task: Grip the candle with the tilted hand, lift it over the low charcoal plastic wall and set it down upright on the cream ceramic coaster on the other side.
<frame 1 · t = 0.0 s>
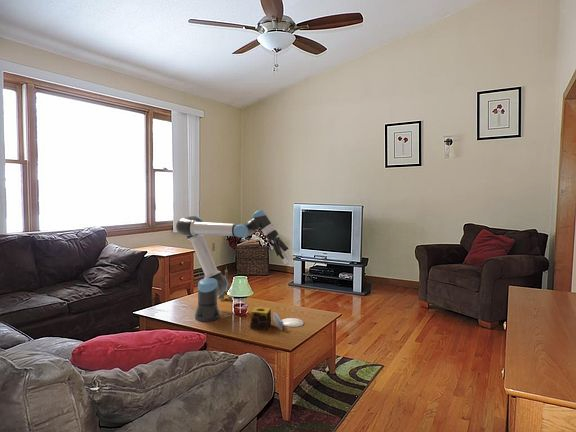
hand: (289, 261, 246), 36 cm above the table, tool tilted 35°, fingers open, 13 cm apart
eiffel tower: (226, 299, 287), on the table
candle: (260, 326, 233), on the table
coaster: (291, 322, 240), on the table
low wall: (277, 325, 236), on the table
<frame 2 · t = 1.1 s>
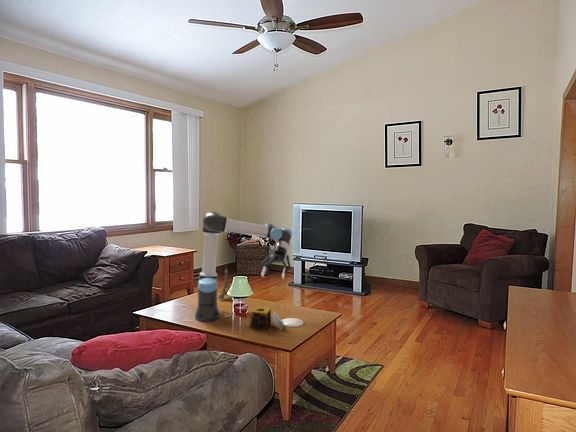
hand: (272, 277, 247), 26 cm above the table, tool tilted 45°, fingers open, 13 cm apart
nothing on the table moved.
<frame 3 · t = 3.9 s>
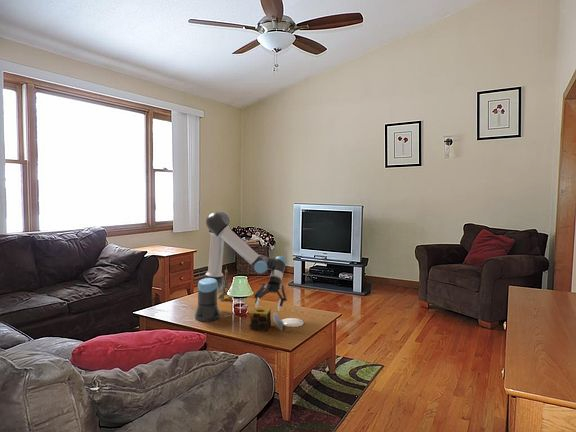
hand: (266, 309, 235), 9 cm above the table, tool tilted 45°, fingers open, 13 cm apart
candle: (260, 327, 231), on the table, touching gripper
everything else where it was.
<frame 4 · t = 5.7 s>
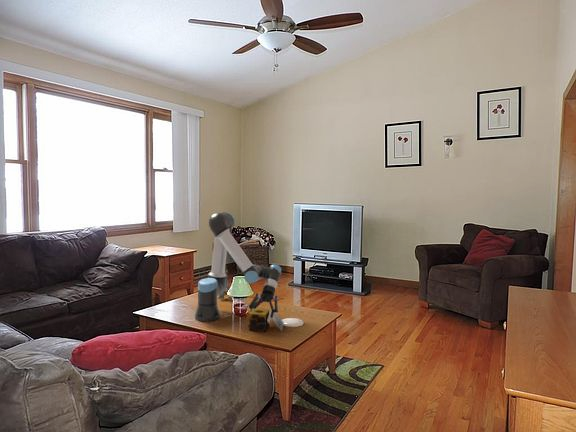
hand: (259, 320, 230), 4 cm above the table, tool tilted 45°, fingers closed on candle, 10 cm apart
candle: (259, 328, 230), on the table, touching gripper
everything else where it was.
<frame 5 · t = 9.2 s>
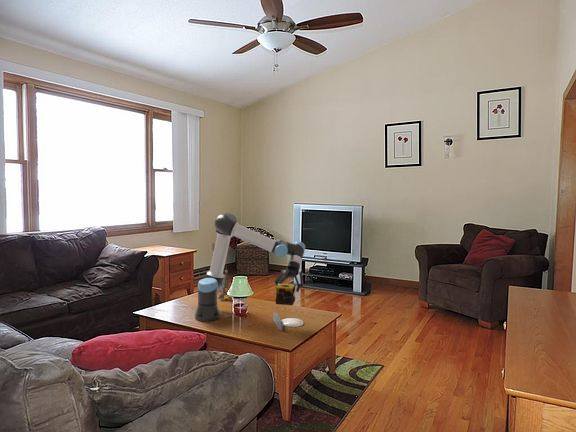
hand: (285, 295, 234), 18 cm above the table, tool tilted 45°, fingers closed on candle, 10 cm apart
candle: (285, 302, 234), point 14 cm above the table, touching gripper
everything else where it was.
when the fingers open (6 cm above the table, at t = 12.8 s): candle drops 1 cm, resting on coaster.
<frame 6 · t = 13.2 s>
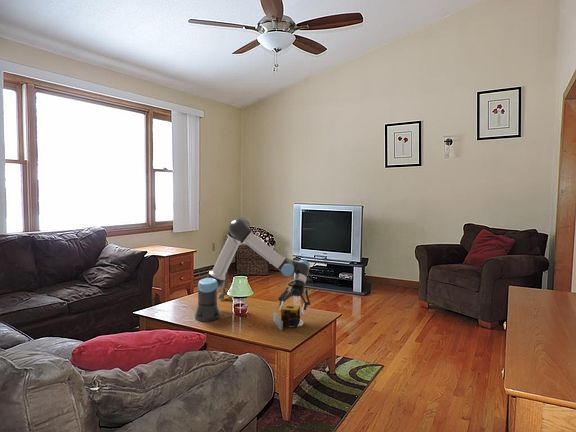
hand: (291, 313, 238), 7 cm above the table, tool tilted 45°, fingers open, 13 cm apart
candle: (290, 324, 237), resting on coaster
everything else where it was.
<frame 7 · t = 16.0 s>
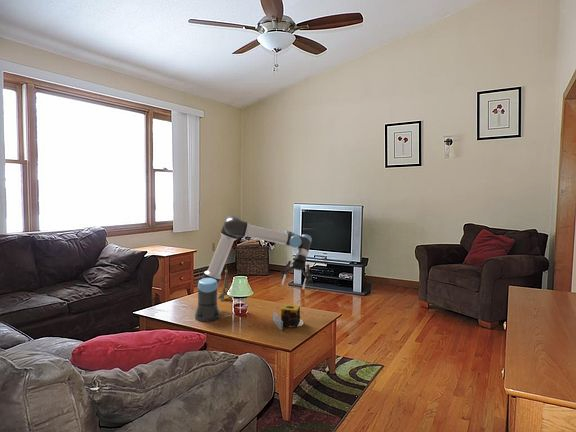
hand: (292, 286, 251), 19 cm above the table, tool tilted 35°, fingers open, 13 cm apart
nothing on the table moved.
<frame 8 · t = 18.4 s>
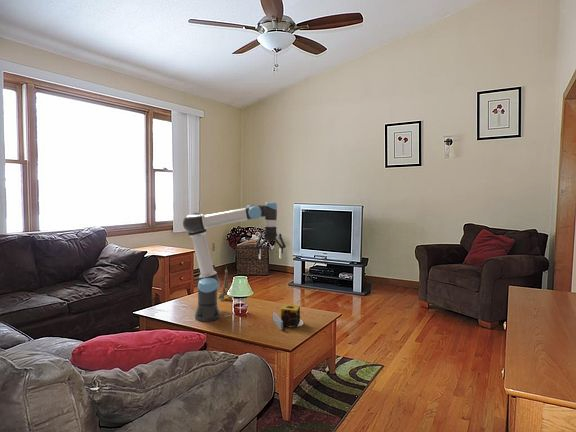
hand: (270, 258, 259), 35 cm above the table, tool pointing down, fingers open, 13 cm apart
nothing on the table moved.
at the end: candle inside the target area on the coaster (3.3 cm from its centre), point 0.4 cm above the coaster's base; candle tilted 0°; the gripper is holding nothing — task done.
